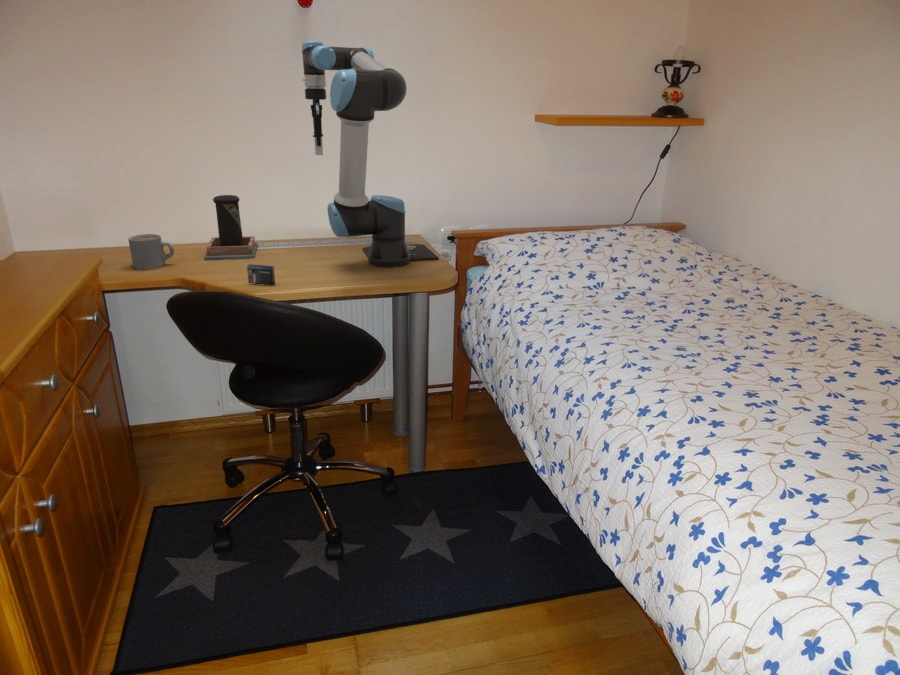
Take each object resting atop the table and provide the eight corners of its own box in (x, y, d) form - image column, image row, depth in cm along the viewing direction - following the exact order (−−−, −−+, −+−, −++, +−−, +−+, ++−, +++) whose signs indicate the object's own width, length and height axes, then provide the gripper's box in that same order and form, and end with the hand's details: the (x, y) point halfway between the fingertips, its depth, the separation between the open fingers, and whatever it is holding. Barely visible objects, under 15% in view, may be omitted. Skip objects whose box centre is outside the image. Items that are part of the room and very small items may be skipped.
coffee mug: (128, 270, 206) (123, 240, 203) (140, 262, 216) (135, 233, 212) (169, 270, 208) (165, 240, 204) (179, 262, 217) (175, 233, 213)
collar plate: (254, 258, 223) (253, 247, 221) (204, 260, 219) (203, 249, 218) (257, 245, 241) (256, 235, 239) (211, 246, 237) (210, 236, 236)
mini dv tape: (248, 283, 196) (246, 265, 193) (251, 282, 197) (249, 264, 195) (273, 285, 195) (271, 267, 192) (275, 284, 196) (273, 265, 194)
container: (240, 253, 226) (234, 197, 218) (215, 252, 226) (208, 197, 218) (248, 247, 234) (242, 193, 226) (224, 246, 234) (217, 193, 226)
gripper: (303, 87, 230) (308, 153, 239) (305, 87, 219) (310, 156, 228) (324, 88, 232) (327, 153, 241) (327, 88, 221) (330, 156, 230)
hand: (319, 154), depth 234 cm, fingers closed
